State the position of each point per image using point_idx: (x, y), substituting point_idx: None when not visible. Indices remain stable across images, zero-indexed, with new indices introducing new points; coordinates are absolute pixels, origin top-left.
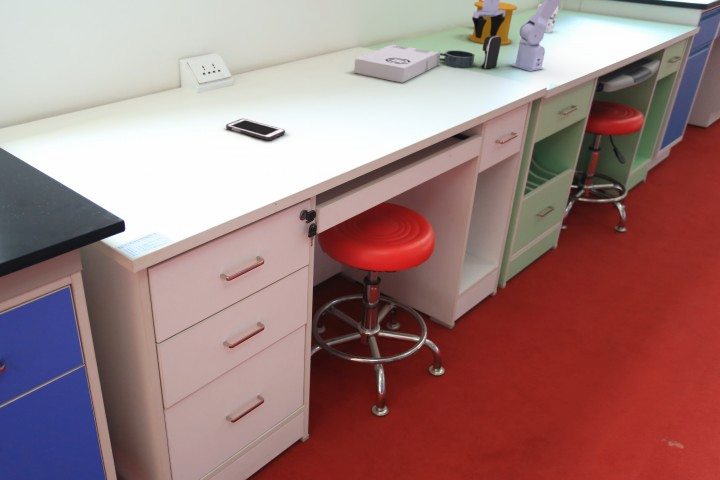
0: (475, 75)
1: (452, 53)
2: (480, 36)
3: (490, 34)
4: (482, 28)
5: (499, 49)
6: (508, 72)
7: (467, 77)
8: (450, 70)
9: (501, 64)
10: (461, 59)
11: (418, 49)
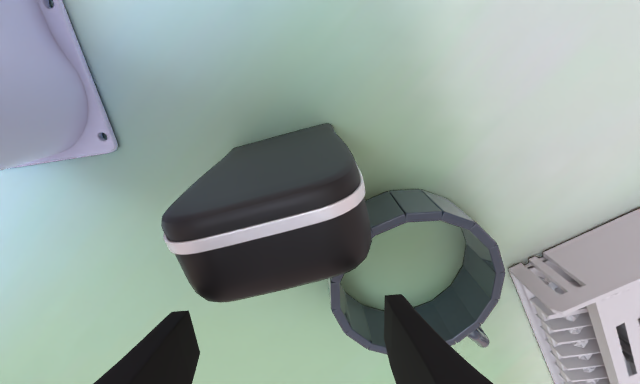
0: (503, 30)
1: None
2: (402, 303)
3: (195, 362)
4: (447, 373)
5: (201, 178)
6: (233, 14)
7: (589, 6)
8: (540, 171)
9: (157, 190)
10: (470, 218)
11: (626, 371)
